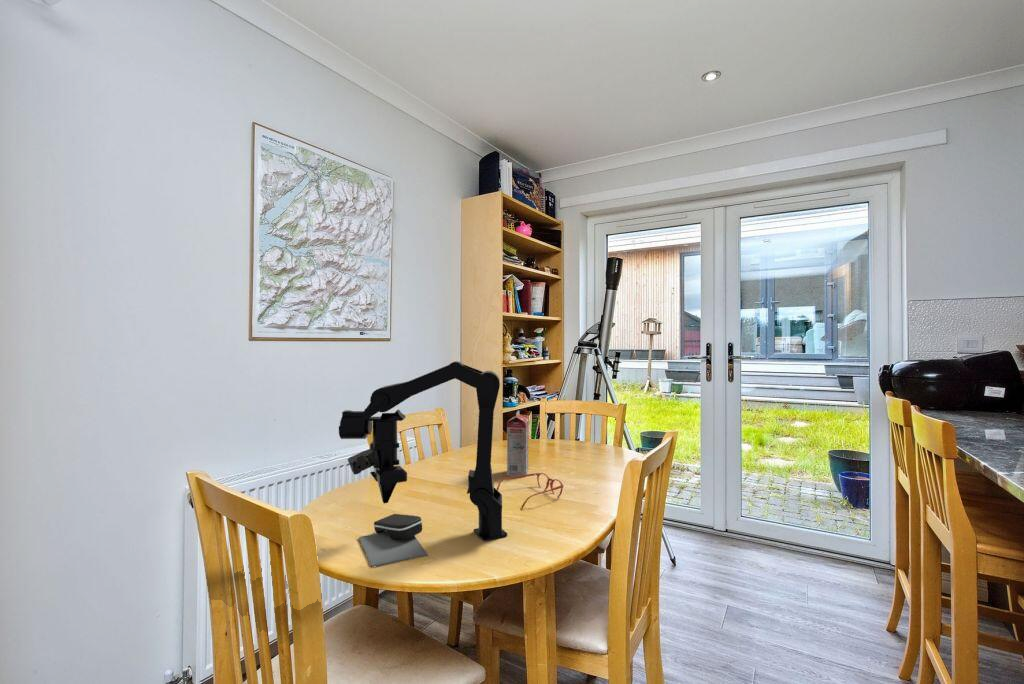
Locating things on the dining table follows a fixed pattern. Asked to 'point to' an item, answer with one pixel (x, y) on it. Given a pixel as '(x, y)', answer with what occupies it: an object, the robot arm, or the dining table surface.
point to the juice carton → (517, 445)
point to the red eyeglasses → (538, 484)
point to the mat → (390, 549)
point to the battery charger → (399, 526)
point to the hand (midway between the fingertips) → (385, 502)
